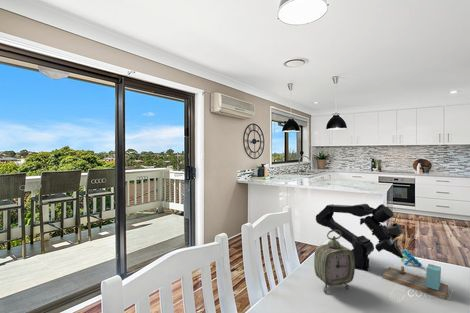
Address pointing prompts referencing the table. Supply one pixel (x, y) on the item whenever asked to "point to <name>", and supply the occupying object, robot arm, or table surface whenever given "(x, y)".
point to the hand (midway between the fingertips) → (402, 257)
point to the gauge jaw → (433, 276)
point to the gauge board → (414, 282)
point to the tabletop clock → (334, 263)
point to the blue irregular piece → (410, 258)
